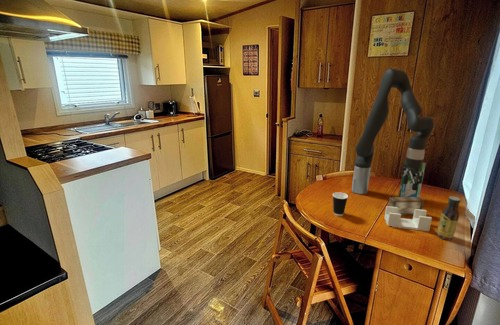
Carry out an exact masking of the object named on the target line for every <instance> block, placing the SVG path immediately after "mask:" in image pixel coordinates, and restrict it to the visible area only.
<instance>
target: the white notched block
mask: <svg viewBox="0 0 500 325" xmlns="http://www.w3.org/2000/svg"><path fill="white" fill-rule="evenodd" d="M397 209H398V208H397V207H392V206H388V205H386V206H385V212H384V220H386V221H385V223H386V225H388V226H392V227H391V228H397V227H398V229H405V230H414V231H415V230H416V231H420V232H422V231H423V232H430V228H431V225H432V220H433V218H432V216H427V210H426V209H422V210H420V209H415V210H414V215H413V216H412V218H402V216H401V214H398V213H397ZM388 226H387V227H388Z"/></svg>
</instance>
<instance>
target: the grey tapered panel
mask: <svg viewBox="0 0 500 325" xmlns="http://www.w3.org/2000/svg"><path fill="white" fill-rule="evenodd" d="M424 203H425V199H423V198H421V196H419V197H399V196H395V197H393V196H391V197H389V200H388V205H387V206H392V207H397V208H398V209H397V213H398V214H401V217H403V216H404V217H407V215H414V210H415V209H420V210H424V209H423V208H424ZM402 215H403V216H402Z"/></svg>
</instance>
